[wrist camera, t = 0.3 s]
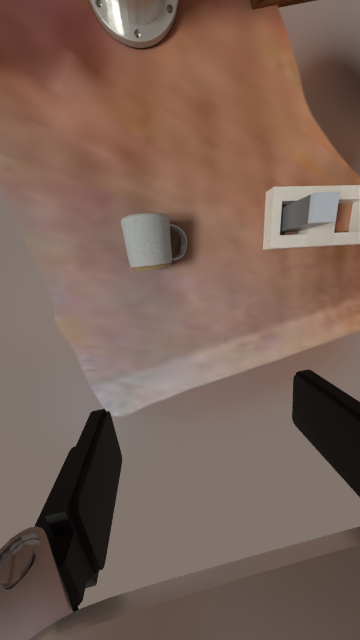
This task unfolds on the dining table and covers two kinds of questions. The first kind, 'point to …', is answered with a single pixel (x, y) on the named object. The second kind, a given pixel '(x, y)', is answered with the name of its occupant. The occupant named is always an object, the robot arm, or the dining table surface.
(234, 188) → the dining table surface
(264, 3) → the diary
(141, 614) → the robot arm
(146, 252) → the ceramic mug
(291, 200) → the jack panel
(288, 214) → the plug
